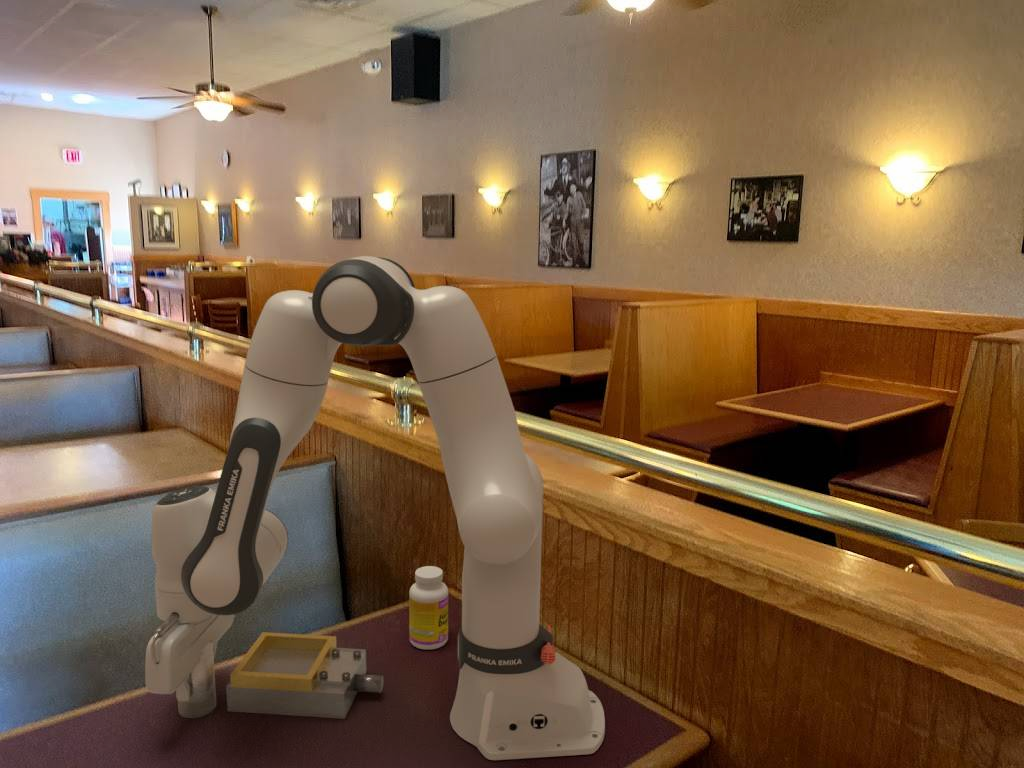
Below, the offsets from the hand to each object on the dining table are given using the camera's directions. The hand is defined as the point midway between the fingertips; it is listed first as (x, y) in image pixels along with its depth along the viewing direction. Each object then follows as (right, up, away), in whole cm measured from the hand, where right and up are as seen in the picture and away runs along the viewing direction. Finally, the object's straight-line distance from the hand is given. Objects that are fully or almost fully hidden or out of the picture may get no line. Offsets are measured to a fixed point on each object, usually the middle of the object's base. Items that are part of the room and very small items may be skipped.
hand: (196, 684), depth 114 cm
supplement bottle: (+32, 0, +20) cm, 38 cm away
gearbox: (+16, -3, +5) cm, 17 cm away
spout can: (-1, -4, +1) cm, 4 cm away
